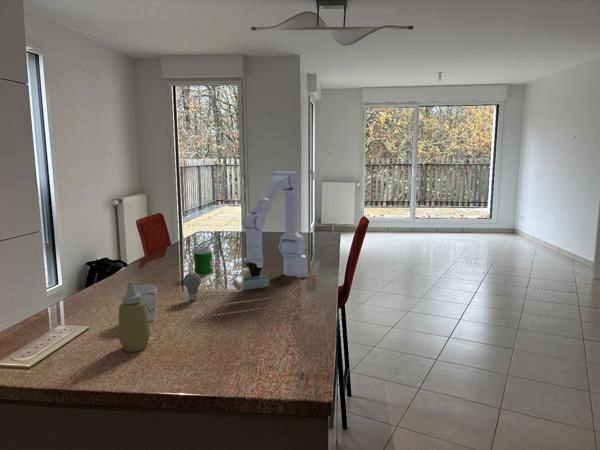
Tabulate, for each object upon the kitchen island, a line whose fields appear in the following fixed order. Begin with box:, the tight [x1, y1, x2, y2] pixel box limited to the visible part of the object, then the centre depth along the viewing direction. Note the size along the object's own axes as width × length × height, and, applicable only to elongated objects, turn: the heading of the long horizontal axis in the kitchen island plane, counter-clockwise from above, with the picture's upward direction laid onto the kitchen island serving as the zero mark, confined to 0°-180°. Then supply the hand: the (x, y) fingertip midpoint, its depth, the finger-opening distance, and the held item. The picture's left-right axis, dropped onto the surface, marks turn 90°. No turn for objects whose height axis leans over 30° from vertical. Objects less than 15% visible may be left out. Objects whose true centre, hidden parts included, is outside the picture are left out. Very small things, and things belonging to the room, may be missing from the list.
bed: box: [232, 278, 270, 290], centre depth 171 cm, size 12×10×2 cm
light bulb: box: [182, 271, 202, 302], centre depth 155 cm, size 6×6×10 cm
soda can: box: [193, 246, 214, 277], centre depth 187 cm, size 8×8×12 cm
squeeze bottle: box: [117, 280, 151, 353], centre depth 116 cm, size 8×8×18 cm
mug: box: [134, 284, 158, 323], centre depth 136 cm, size 11×8×10 cm
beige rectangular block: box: [241, 267, 251, 282], centre depth 172 cm, size 4×4×6 cm
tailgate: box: [241, 274, 270, 291], centre depth 164 cm, size 9×1×6 cm, turn 112°
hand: (255, 281), depth 164 cm, fingers closed, pressing on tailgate
